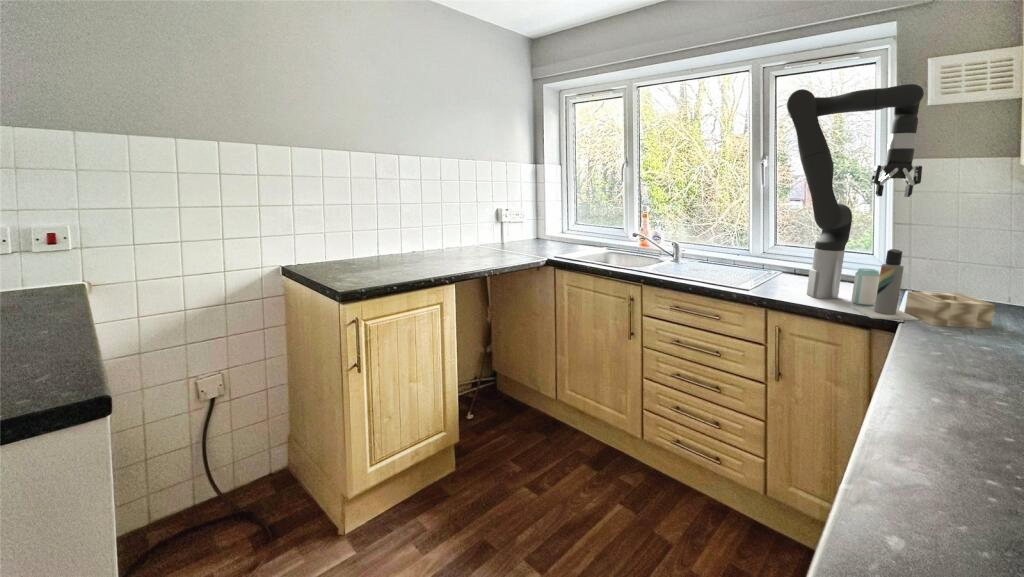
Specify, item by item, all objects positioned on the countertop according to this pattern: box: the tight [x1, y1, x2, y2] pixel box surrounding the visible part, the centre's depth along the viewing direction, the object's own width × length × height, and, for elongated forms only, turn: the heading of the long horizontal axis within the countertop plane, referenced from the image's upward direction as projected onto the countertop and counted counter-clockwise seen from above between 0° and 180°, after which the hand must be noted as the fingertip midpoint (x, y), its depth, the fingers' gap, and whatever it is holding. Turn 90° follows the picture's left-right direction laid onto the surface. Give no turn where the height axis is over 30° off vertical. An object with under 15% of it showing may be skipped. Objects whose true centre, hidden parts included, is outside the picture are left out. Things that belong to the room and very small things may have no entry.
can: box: [850, 267, 880, 307], centre depth 179 cm, size 7×7×12 cm
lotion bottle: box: [874, 248, 905, 315], centre depth 164 cm, size 6×6×20 cm
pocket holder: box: [903, 291, 996, 329], centre depth 159 cm, size 15×15×7 cm
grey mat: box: [852, 306, 919, 321], centre depth 166 cm, size 13×13×1 cm
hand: (893, 196), depth 181 cm, fingers open, 8 cm apart
